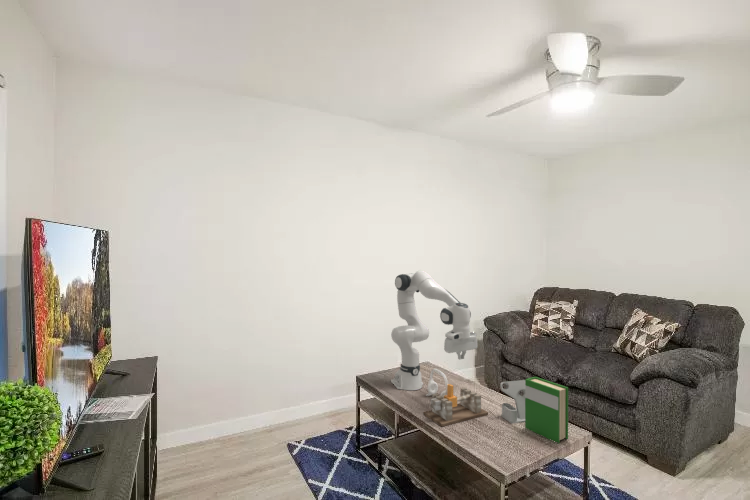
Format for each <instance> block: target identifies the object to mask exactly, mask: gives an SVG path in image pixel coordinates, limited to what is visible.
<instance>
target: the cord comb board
mask: <svg viewBox="0 0 750 500" xmlns="http://www.w3.org/2000/svg"><path fill="white" fill-rule="evenodd" d="M459 390H460V396H456V397H457V402H459V403H457V406H456V407H452V402H451V401H448V399H446V398H445V399H443V397H442V396H440V394H439V393H437V392H436V393H435V394H432V395H431V397H432V398H430V408H431V409H429V410H426V411H423V416H425V417H426V418H428V419H429V420H430V421H432V422H434V423H435V424H437V425H438V426H440V427H441V428H443V427H444V428H445V427H448V426H452V425H456V424H459V423H463V422H466V421H467V422H468V421H470V420H475V419H478V418H482V417H485V416H489V411H486V410H485V409H483V408H482V395H481V394H479V393H477V392H475V391H472V390H471V389H468V388H467V387H460V389H459Z"/></svg>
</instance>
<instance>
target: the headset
mask: <svg viewBox="0 0 750 500" xmlns="http://www.w3.org/2000/svg"><path fill="white" fill-rule="evenodd" d="M434 373H436V374H437V375H439V376H440V377H442V378H443V381H444V385H445V390H443V391H441V393H440V394H439V396H442V397H443V399H444V396H445V395H447V384H449V381H448V378H447V375H446V374H445V373H444V372H443V371H441V370H440V369H438V368H433V369H431V371H430V374H429V379H428V384H427V392H428V393H427V394H425V396H426V397H429V396H432V394H436V393H437V392H438V390H439V385H438V383H437V382H436V381H434V380H435V379H434Z"/></svg>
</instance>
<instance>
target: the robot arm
mask: <svg viewBox="0 0 750 500" xmlns="http://www.w3.org/2000/svg"><path fill="white" fill-rule="evenodd" d="M394 285H395V288H396V290H397V292H396V293H397V295H396V296H397V297H396V300H397V309H398V315H399V317H400V319H402V320H404V321H405V322H406V323H407V324H406V325H401V326H400V325H399V326H397V327H394V328H392V330H391V339H392V341H393V343H395V344H396V345H397V346H398V347H399V349H400V353H401V363H400V368H399V369H398V370H397V371H396V372H395V373H394V377H393V378H391V379H390V382H391V384H394V387H395V388H396V389H397V390H403V391H404V390H405V391H416V390H420V389H422V387H423V385H424V382H423V380H422V372H421V364H420V352H419V350H417V348H415V347H413V345H412V344H413V343H420V342H423V341H425V340H428V339H429V337H430V330H429V328H428V326H427V325H426V324H424V323H423V322H422V321H421V320H420V318H419V316H418V313H417V309H416V302H415V296H414V295H415V293H419V292H420V294H421V295H422V296H423V297H424V298H426V299H430V300H437V301H439V302H443V303H445V304H447V306H446V307H443V308H442V309H441V311H440V313H439V314H440V315H439V317H440V321H441V323H442V324H444V325H447V326H449V325H450V326H451V325H452V329H451V330H449V331H447V332H446V333H444V334H445V339H444V343H443V347H444V348H443V349H444V352H446V353H448V354H453V353H455V354H456V355H457V359H458V360H464V359H465V356H466V353H467V351H473V350H477V349H478V347H479V346H478V345H479V344H478V338H477V337H478V336H477V335H478V334H477V333H476V332H475V331H472V332H471V327H470V322H471V317H472V313H471V310H470V307H469V305H468V304H467V303H465V302H461V301H459V300H458V299H457V298H456V297H455V296H454V295H453V294H452V293H451V292H450V291H448V290H447V289H446V288H445V287H443V286H441V285H440V284H439V283H438V282H436V280H434V278H433V277H432V276H431V275H430V274H429V273H428V272H426V271H425V270H422V269H419V270H418V271H415V273H406V274H404V273H402V274H398V275H397V276H396V277H395V280H394Z"/></svg>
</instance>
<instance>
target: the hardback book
mask: <svg viewBox="0 0 750 500" xmlns="http://www.w3.org/2000/svg"><path fill="white" fill-rule="evenodd" d="M524 380H525V422H524V425H525V429H527V430H528V431H531V432H533V433H535V434H537V435H538V436H541V435H542V437H543V436H544V438H545V437H546V439H548V440H550V439H551V440H550V441H552V440H553V441H552V442H554V441H555V442H554V443H556V442H558V443H557V444H560V441H561V440H564V438H566V439H568V440H569V387H568V386H565V385H562V384H558V383H556V382H553V381H549V380H548V379H547V380H546V379H544V378H540V377H538V376H533V377H528V378H526V379H524ZM566 439H565V440H566Z"/></svg>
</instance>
